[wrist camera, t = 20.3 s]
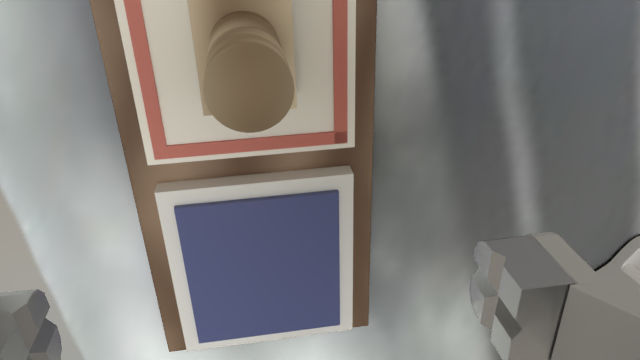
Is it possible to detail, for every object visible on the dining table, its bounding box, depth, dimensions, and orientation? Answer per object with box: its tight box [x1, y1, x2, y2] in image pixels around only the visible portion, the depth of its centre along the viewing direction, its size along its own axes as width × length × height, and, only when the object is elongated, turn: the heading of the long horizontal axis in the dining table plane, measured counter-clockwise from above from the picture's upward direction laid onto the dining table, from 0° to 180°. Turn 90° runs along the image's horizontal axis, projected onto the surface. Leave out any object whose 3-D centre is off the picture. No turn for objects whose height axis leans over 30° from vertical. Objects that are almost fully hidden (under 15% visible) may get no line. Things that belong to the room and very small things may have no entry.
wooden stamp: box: [187, 0, 297, 133], centre depth 24 cm, size 5×7×9 cm
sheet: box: [114, 0, 356, 165], centre depth 28 cm, size 13×14×1 cm
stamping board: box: [90, 0, 377, 352], centre depth 32 cm, size 15×30×1 cm, turn 1°
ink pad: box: [155, 165, 354, 351], centre depth 35 cm, size 12×13×2 cm
